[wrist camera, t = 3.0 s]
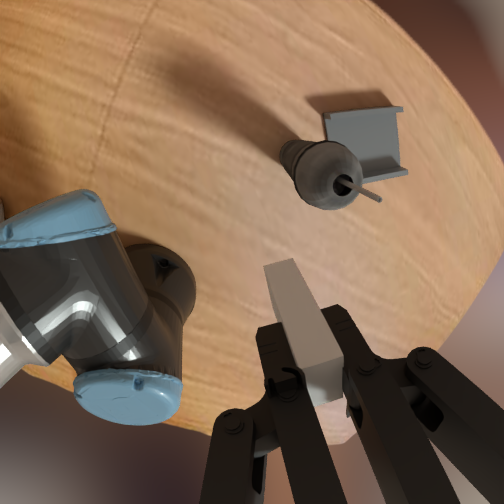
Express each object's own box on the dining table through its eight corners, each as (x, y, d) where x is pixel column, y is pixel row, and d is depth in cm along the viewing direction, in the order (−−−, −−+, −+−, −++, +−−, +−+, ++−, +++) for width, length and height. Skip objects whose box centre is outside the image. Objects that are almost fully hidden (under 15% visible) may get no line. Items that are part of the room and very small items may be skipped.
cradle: (333, 184, 42) (340, 188, 40) (322, 113, 37) (329, 113, 35) (399, 170, 42) (408, 174, 40) (393, 105, 37) (402, 106, 35)
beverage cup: (266, 132, 37) (323, 158, 20) (318, 128, 38) (406, 154, 20) (272, 184, 41) (324, 250, 23) (321, 178, 41) (400, 236, 24)
